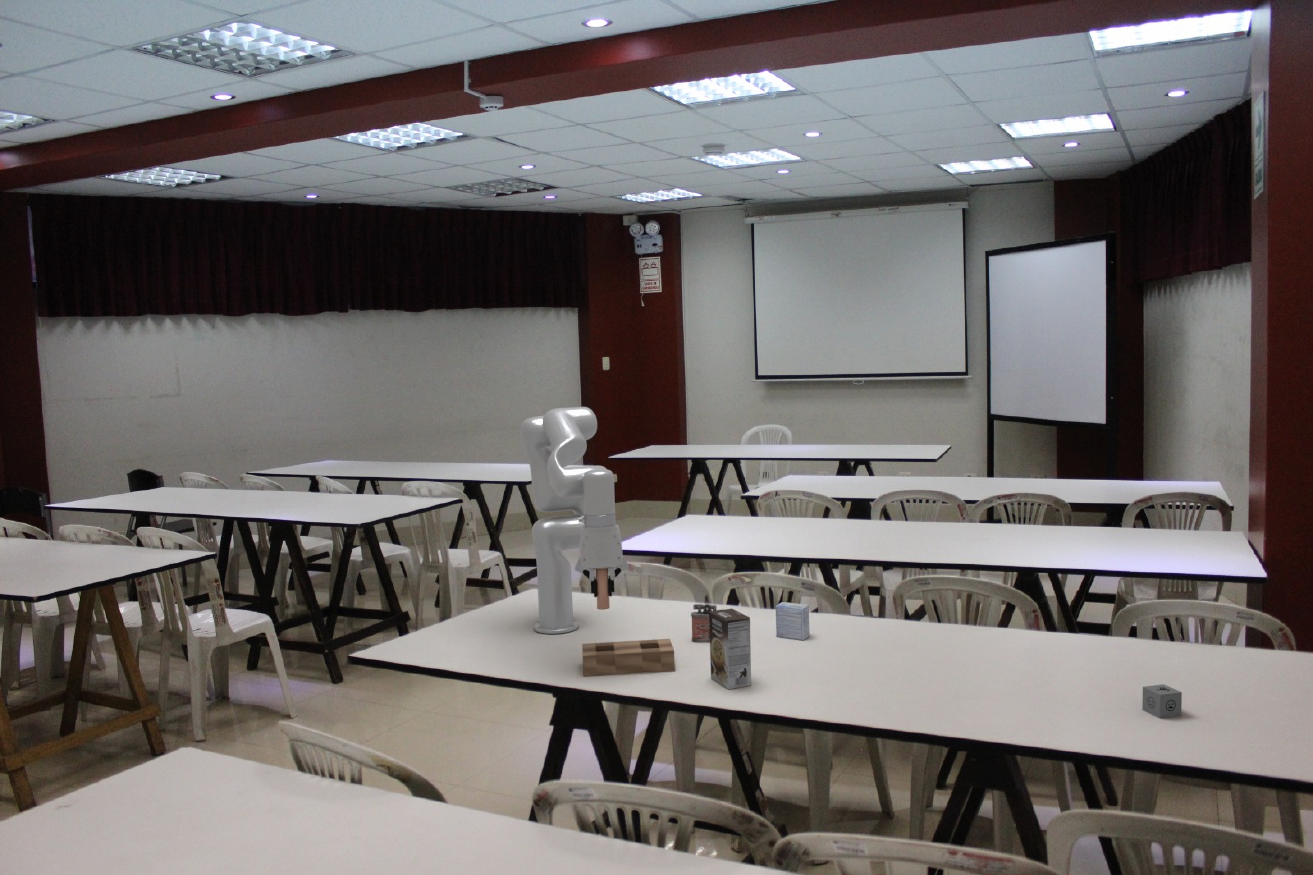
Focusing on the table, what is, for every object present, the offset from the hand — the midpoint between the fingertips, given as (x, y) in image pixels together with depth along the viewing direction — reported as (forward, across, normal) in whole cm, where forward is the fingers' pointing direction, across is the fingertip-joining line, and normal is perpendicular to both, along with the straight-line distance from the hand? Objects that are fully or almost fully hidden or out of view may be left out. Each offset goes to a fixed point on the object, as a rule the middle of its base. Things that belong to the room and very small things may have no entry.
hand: (602, 594), depth 237 cm
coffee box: (+19, +28, -15) cm, 37 cm away
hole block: (+18, +6, 0) cm, 19 cm away
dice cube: (+19, +112, -49) cm, 124 cm away
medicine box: (+19, +50, +17) cm, 56 cm away
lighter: (+19, +28, +18) cm, 38 cm away
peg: (+3, 0, 0) cm, 3 cm away
